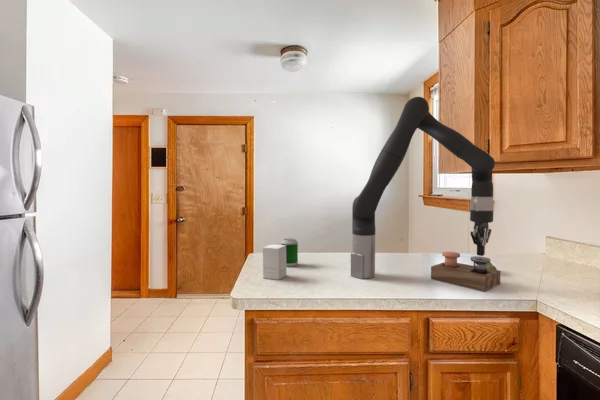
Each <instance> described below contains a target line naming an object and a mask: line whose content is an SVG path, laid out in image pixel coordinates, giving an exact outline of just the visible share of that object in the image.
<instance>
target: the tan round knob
mask: <svg viewBox="0 0 600 400" xmlns="http://www.w3.org/2000/svg"><path fill="white" fill-rule="evenodd" d="M441 254H442V257H444V262H445V267H450V268H457V263H458V258H460V257H461V254H460V252H455V251H442V253H441Z"/></svg>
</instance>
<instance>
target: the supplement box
mask: <svg viewBox="0 0 600 400" xmlns="http://www.w3.org/2000/svg"><path fill="white" fill-rule="evenodd" d="M287 271H288V270H287V267H286V245H281V244H272V243H271V244H269V245H266V246H263V247H262V275H263V277H262V278H263V279H267V280H269V279H270V280H275V281H277V280H278V281H279V280H280V279H283V278H285V277H287V275H288V274H287V273H288V272H287Z"/></svg>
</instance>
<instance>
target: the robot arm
mask: <svg viewBox="0 0 600 400" xmlns="http://www.w3.org/2000/svg"><path fill="white" fill-rule="evenodd" d="M417 129H418V130H421V131H422V132H424V133H425V134H426V135H429V136H430V137H431V138H433V139H434V140H435V141H436V142H438V143H439V144H440V145H441V146H443V147H444V148H445V149H446V150H448V151H449V152H450V153H452V154H453V155H454V156H456V158H458V159H460V160H462V161H463V162H465V163H466V164H467V165H468V166H470V167H471V193H470V196H471V197H470V203H469V204H470V207H469V208H470V209H469V211H470V213H469V221H470V222H472V223H474V224H473V231H470V237H471V239H472V242H473V244H474V245H475V246H476V256H479V257H484V256H485V255H486V254H485V253H486V250H485V249H486V245H487V244H488V242H489V239H490V236H491V233H492V229H490V225H489V223H493V222H494V209H495V207H494V206H495V205H494V183H493V170H494V168H495V165H496V162H495V158H493V157H492V155H490V154H489V153H487V152H486V151H485V150H483V149H482V148H480V147H478V146H477V145H475V144H474V143H472V141H471V140H469V139H468V138H467V137H465V136H464V135H463V134H461V133H460V132H458V131H457V130H455V129H454V128H451V127H449V126H447V125H445V124H443V123H442V122H440V121H439V120H438V119H436V118H435V116H433V115H432V114H431V112H430V105H429V103H428V101H427V99H426V98H424V97H422V96H415V97H412V98H410V99H409V100H408V101H406V103H405V104H404V107H403V109H402V112H401V114H400V117H399V119H398V121H397V123H396V126H395V127H394V129H393V131H392V133H391V134H390V135H389V137H388V138H387V140H386V141H385V143H384V145H383V147H382V148H381V150H380V152H379V154H378V156H377V157H376V159H375V162H374V164H373V166H372V169H371V171H370V175H369V178H368V181H367V182H366V184H365V185H364V187H363V189H362V190H361V192H360V193H359V195H358V196H356V197H355V198H354V200H353V201H352V209H351V211H352V212H351V213H352V214H351V215H352V216H351V217H352V220H351V221H352V222H351V223H352V224H351V227H352V228H351V229H352V233H351V234H352V240H351V241H352V242H351V243H352V245H351V247H352V249H351V251H352V252H350V276H351V277H353V278H354V277H355V278H357V279H361V280H363V279H372V278H375V276H376V210H377V208H378V206H379V202H380V201H381V199H382V196H383V195H384V191H386V188H387V186H388V185H389V184H390V182H391V181H392V180H393V178H394V176H395V175H396V173H397V172H398V169H400V167H401V164H402V162H403V161H404V159H405V158H406V154H407V152H408V149H409V147H410V144H411V141H412V138H413V136H414V134H415V132H416V131H417Z"/></svg>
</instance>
